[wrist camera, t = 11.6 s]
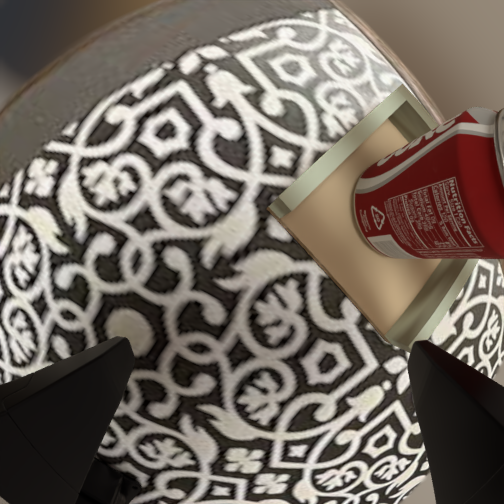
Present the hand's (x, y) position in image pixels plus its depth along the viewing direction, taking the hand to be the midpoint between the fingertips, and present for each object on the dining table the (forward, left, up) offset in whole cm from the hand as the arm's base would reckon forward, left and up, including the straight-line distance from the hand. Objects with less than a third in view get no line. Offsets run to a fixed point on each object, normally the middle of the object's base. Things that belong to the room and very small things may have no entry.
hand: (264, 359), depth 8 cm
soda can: (+11, -5, -9) cm, 15 cm away
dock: (+11, -6, -10) cm, 16 cm away
